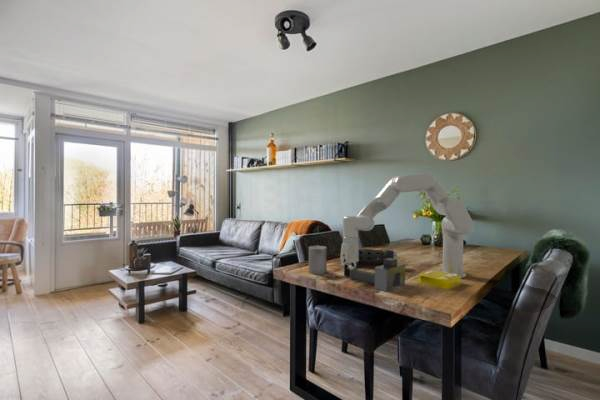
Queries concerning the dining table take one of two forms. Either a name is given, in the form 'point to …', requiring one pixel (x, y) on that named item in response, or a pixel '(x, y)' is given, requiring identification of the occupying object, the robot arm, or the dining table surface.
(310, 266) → the pillar candle
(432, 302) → the dining table surface
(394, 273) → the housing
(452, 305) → the dining table surface
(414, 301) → the dining table surface
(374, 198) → the robot arm
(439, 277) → the element tile
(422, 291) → the dining table surface
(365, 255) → the muzzle brake
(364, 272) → the grey and white bar
